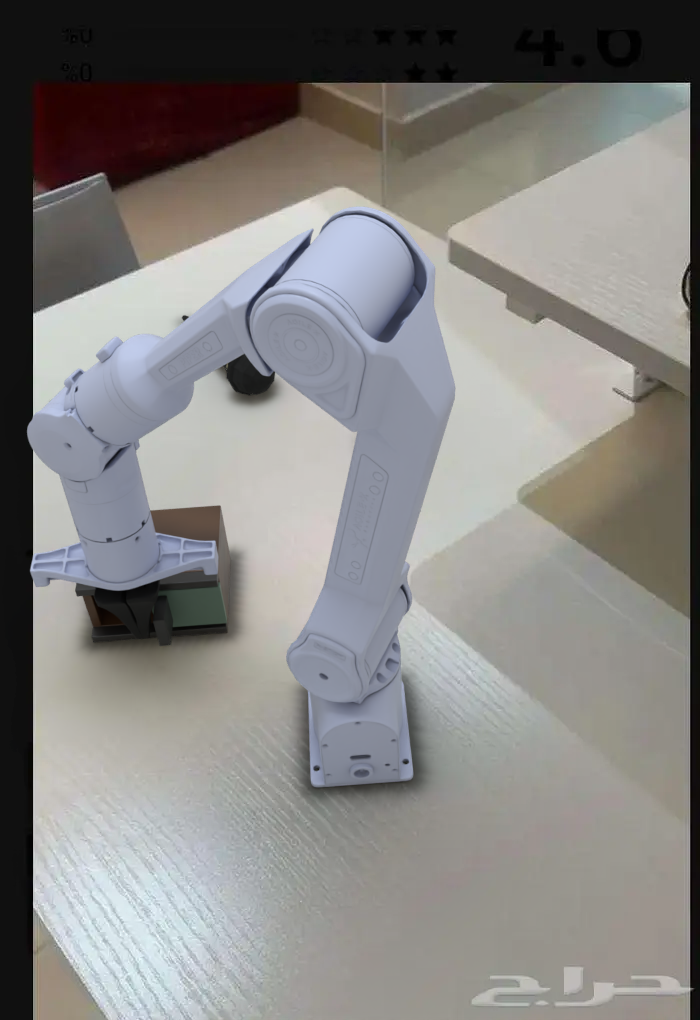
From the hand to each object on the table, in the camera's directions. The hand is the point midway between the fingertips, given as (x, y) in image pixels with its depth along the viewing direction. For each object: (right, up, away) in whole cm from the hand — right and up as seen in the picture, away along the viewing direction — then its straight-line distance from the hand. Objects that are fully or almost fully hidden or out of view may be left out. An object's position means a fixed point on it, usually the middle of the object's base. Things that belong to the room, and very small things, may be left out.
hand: (143, 629), depth 90 cm
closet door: (+4, -1, +2) cm, 5 cm away
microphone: (+4, +28, +34) cm, 44 cm away
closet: (0, +2, +8) cm, 8 cm away
